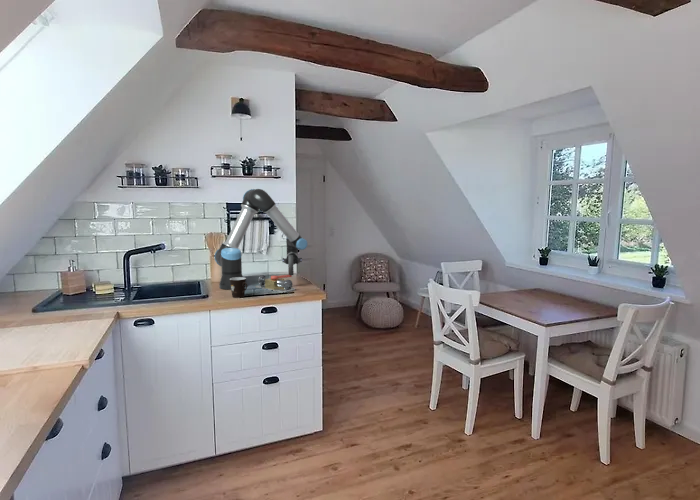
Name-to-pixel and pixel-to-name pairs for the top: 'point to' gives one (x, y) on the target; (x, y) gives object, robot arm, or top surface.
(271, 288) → the valve
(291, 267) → the lever
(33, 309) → the top surface
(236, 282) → the coffee mug
